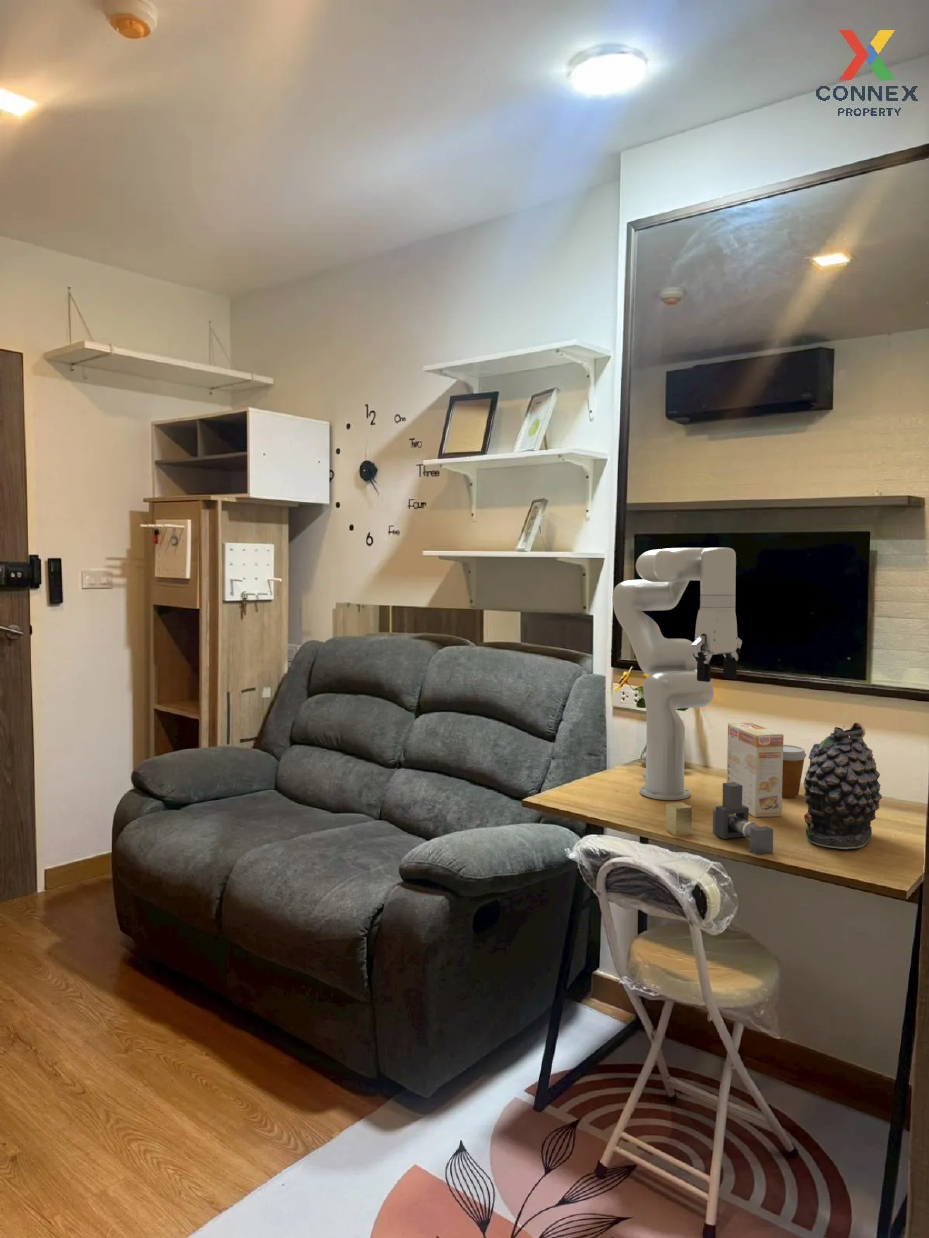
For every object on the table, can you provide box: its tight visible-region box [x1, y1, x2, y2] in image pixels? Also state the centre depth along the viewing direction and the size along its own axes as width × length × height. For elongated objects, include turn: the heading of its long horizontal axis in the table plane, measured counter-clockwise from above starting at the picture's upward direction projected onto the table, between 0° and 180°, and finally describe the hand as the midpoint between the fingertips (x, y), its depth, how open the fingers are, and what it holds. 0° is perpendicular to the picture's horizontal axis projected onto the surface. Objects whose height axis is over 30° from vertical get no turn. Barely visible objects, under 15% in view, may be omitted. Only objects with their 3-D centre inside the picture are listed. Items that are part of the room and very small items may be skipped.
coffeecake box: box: [726, 722, 785, 818], centre depth 200 cm, size 15×7×20 cm, turn 8°
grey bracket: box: [714, 782, 749, 840], centre depth 179 cm, size 3×6×11 cm, turn 108°
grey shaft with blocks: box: [712, 809, 774, 856], centre depth 176 cm, size 15×4×5 cm, turn 18°
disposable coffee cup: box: [782, 744, 807, 799], centre depth 211 cm, size 10×10×12 cm
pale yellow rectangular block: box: [665, 801, 693, 837], centre depth 183 cm, size 4×4×6 cm
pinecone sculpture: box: [803, 722, 883, 850], centre depth 177 cm, size 21×15×25 cm
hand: (716, 679), depth 185 cm, fingers open, 9 cm apart
